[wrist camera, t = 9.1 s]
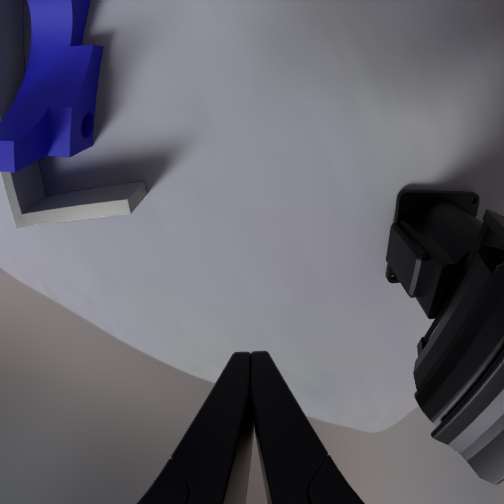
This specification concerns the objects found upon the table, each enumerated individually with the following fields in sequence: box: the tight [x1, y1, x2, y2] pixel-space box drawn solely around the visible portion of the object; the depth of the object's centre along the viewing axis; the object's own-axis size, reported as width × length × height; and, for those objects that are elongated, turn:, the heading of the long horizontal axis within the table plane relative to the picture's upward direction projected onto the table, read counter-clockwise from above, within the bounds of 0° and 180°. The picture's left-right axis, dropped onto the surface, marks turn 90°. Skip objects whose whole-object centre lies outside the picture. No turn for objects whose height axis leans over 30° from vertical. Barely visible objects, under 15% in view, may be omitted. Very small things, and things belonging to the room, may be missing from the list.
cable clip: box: [0, 0, 103, 173], centre depth 11 cm, size 12×4×6 cm, turn 169°
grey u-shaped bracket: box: [0, 0, 147, 228], centre depth 13 cm, size 8×18×3 cm, turn 3°
